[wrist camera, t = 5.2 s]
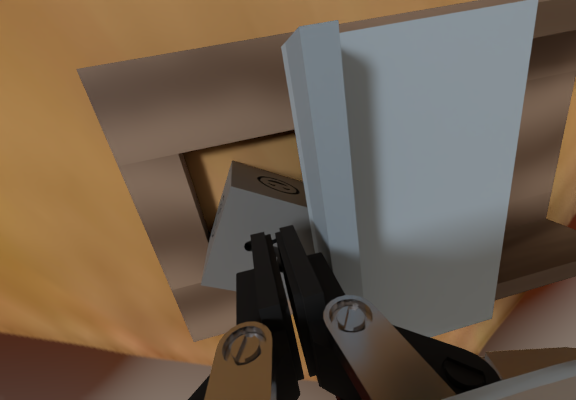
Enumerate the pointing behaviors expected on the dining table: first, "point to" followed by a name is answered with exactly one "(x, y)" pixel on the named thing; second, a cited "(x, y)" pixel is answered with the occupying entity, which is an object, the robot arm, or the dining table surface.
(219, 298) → the game box
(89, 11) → the dining table surface
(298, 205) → the dice cube
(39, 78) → the dining table surface
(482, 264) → the sliding lid
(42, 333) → the dining table surface
